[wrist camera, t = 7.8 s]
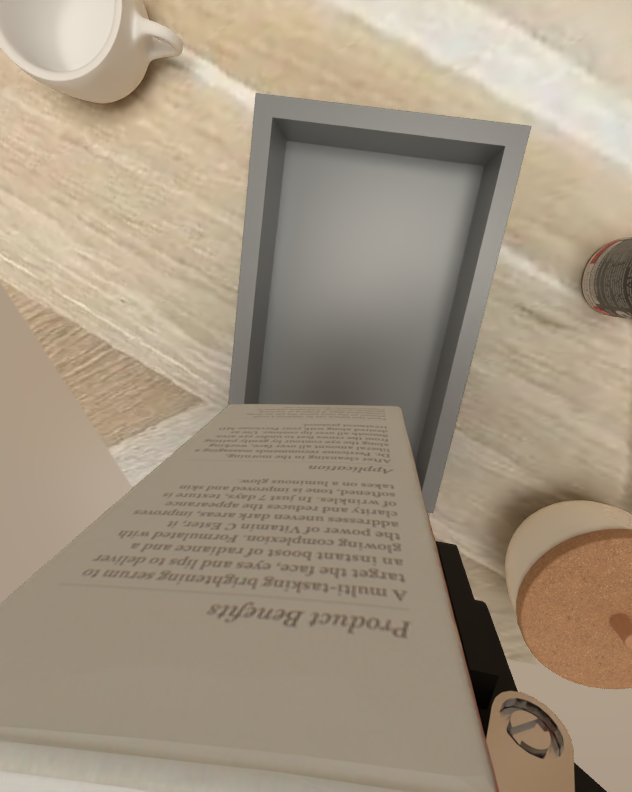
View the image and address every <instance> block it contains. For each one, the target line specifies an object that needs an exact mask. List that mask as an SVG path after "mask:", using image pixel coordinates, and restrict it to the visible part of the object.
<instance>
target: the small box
mask: <svg viewBox="0 0 632 792" xmlns="http://www.w3.org/2000/svg"><path fill="white" fill-rule="evenodd" d="M0 792H499V789H498V785H497V780H496V776H495V772H494V768H493V764H492V760H491V757H490V753H489V749H488V746H487V742H486V739H485V735H484V731H483V727H482V723H481V719H480V715H479V711H478V707H477V703H476V699H475V695H474V691H473V687H472V683H471V679H470V676H469V672H468V668H467V664H466V660H465V656H464V652H463V649H462V645H461V641H460V637H459V633H458V630H457V626H456V622H455V618H454V614H453V610H452V606H451V602H450V598H449V594H448V590H447V586H446V582H445V578H444V574H443V570H442V566H441V562H440V558H439V554H438V549H437V546H436V542H435V539H434V535H433V532H432V528H431V525H430V521H429V516H428V513H427V510H426V507H425V504H424V500H423V495H422V491H421V487H420V482H419V478H418V474H417V469H416V465H415V461H414V457H413V453H412V449H411V446H410V442H409V438H408V435H407V431H406V427H405V423H404V419H403V413H402V409H401V408H400V407H398V406H364V405H294V404H231V405H228V406H227V407H226V408H225V409H224V410H223V411H222V412H221V413H219V414H218V415H217V416H216V417H215V418H214V419H212V420H211V421H210V422H209V423H208V424H207V425H206V426H204V427H203V428H202V429H201V430H200V431H199V432H198V433H196V434H195V435H194V436H193V437H192V438H190V439H189V440H188V441H187V442H186V443H185V444H183V445H182V446H181V447H180V448H179V449H178V450H176V451H175V452H174V453H173V454H172V455H171V456H170V457H169V458H167V459H166V460H165V461H164V462H163V463H161V464H160V465H159V466H158V467H157V468H155V469H154V470H153V471H152V472H151V473H150V474H149V475H147V476H146V477H145V478H144V479H143V480H141V481H140V482H139V483H138V484H137V485H136V486H135V487H134V488H132V489H131V490H130V491H129V492H128V493H127V494H126V495H125V496H123V497H122V498H121V499H120V500H119V501H118V502H116V503H115V504H114V505H113V506H112V507H111V508H109V509H108V510H107V511H105V512H104V513H103V514H102V515H101V516H100V517H99V518H98V519H97V520H96V521H95V522H93V523H92V524H91V525H90V526H88V527H87V528H86V529H85V530H84V531H83V532H82V533H81V534H80V535H78V536H77V537H76V538H75V539H74V540H73V541H72V542H71V543H69V544H68V545H67V546H66V547H65V548H64V549H62V550H61V551H60V552H59V553H58V554H57V555H56V556H54V557H53V558H52V559H51V560H50V561H49V562H47V563H46V564H45V565H44V566H43V567H41V568H40V569H39V570H38V571H37V572H35V573H34V574H33V575H32V576H31V577H30V578H29V579H28V580H27V581H26V582H25V583H23V584H22V585H21V586H20V587H19V588H17V590H15V591H14V592H13V593H12V594H11V595H10V596H8V597H7V598H6V599H5V600H4V601H3V602H2V603H1V604H0Z"/></svg>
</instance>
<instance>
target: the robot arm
mask: <svg viewBox="0 0 632 792" xmlns="http://www.w3.org/2000/svg"><path fill="white" fill-rule="evenodd" d="M435 542H436V546H437V549H438V554H439V558H440V562H441V566H442V570H443V574H444V578H445V582H446V586H447V590H448V594H449V598H450V602H451V606H452V610H453V614H454V618H455V622H456V626H457V630H458V633H459V637H460V641H461V645H462V649H463V652H464V656H465V660H466V664H467V668H468V672H469V676H470V679H471V683H472V687H473V691H474V695H475V699H476V703H477V707H478V711H479V715H480V719H481V723H482V727H483V731H484V735H485V739H486V742H487V746H488V749H489V753H490V757H491V760H492V764H493V768H494V772H495V776H496V780H497V785H498V789H499V792H607V791H605V790H604V789H603V788H602V787H601V786H600V785H599V784H597V782H595V781H594V780H593V779H592V778H591V777H590V776H589V775H588V774H586V773H585V772H584V771H583V770H582V769H581V768H580V767H579V766H577V765H576V764H575V763H574V751H573V745H572V742H571V738H570V736H569V734H568V732H567V730H566V728H565V726H564V725H563V723H562V722H561V721H560V719H559V718H558V717H557V716H556V714H554V713H553V712H552V711H551V710H550V709H549V708H548V707H547V706H546V705H544V704H543V703H541V702H540V701H538V700H537V699H535V698H534V697H531V696H529V695H526V694H524V693H522V692H518V691H517V688H516V686H515V683H514V680H513V677H512V674H511V672H510V669H509V666H508V663H507V660H506V658H505V655H504V652H503V649H502V646H501V644H500V641H499V638H498V635H497V632H496V630H495V627H494V624H493V621H492V619H491V616H490V613H489V610H488V608H487V606H486V604H485V603H484V602H483V601H478V600H474V597H473V594H472V591H471V588H470V585H469V582H468V579H467V575H466V572H465V569H464V566H463V563H462V560H461V557H460V554H459V551H458V548H457V546H456V545H453V544H448V543H443V542H438V541H435Z"/></svg>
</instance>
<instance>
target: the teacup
mask: <svg viewBox="0 0 632 792" xmlns="http://www.w3.org/2000/svg"><path fill="white" fill-rule="evenodd" d="M156 37H158V38H160V39H163V40H165V41H166V42H168V43H165V42H162V41H160V40H159V39H157V38H156ZM0 48H1V49H2V50H3V51H4V53H5V54H6V55H7V56H8V57H9V58H10V59H11V60H12V61H13V62H14V63H15V64H16V65H17V66H18V67H20V68H21V69H22V70H23V71H24V72H26V73H27V74H28V75H30V76H31V77H33V78H34V79H36V80H37V81H39V82H41V83H43V84H45V85H47V86H49V87H51V88H53V89H55V90H57V91H59V92H62V93H64V94H66V95H69V96H71V97H74V98H78V99H82V100H86V101H90V102H94V103H110V102H114V101H117V100H120V99H122V98H124V97H126V96H127V95H129V94H130V93H131V92H132V91H134V90H135V89H136V87H137V86H138V85H139V84H140V82H141V81H142V79H143V77H144V75H145V73H146V71H147V68H148V65H149V63H150V62H151V61H152V60H154V59H158V58H164V57H172V56H178V55H180V54H181V53H182V48H183V43H182V40H181V39H180V37H179V36H178V35H177V34H175V33H174V32H173V31H172V30H170V29H168V28H167V27H165V26H163V25H161V24H159V23H156V22H154V21H151V20H149V18H148V14H147V10H146V7H145V5H144V3H143V1H142V0H0Z"/></svg>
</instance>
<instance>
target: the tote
mask: <svg viewBox="0 0 632 792" xmlns="http://www.w3.org/2000/svg"><path fill="white" fill-rule="evenodd" d="M530 130H531V126H527V125H519V124H511V123H502V122H494V121H485V120H477V119H469V118H460V117H452V116H444V115H435V114H427V113H419V112H410V111H402V110H393V109H385V108H377V107H368V106H360V105H352V104H343V103H335V102H327V101H318V100H310V99H301V98H293V97H285V96H276V95H268V94H260V93H256V96H255V107H254V118H253V130H252V141H251V152H250V164H249V175H248V186H247V198H246V209H245V220H244V232H243V243H242V254H241V266H240V277H239V289H238V300H237V311H236V323H235V334H234V345H233V357H232V368H231V379H230V391H229V402H228V405H231V404H294V405H364V406H398V407H400V408H401V409H402V413H403V419H404V423H405V427H406V431H407V435H408V438H409V442H410V446H411V449H412V453H413V457H414V461H415V465H416V469H417V474H418V478H419V482H420V487H421V491H422V495H423V500H424V504H425V507H426V510H427V512H428V513H433V512H434V508H435V504H436V500H437V496H438V492H439V488H440V484H441V480H442V476H443V472H444V468H445V464H446V460H447V456H448V452H449V449H450V445H451V441H452V437H453V433H454V429H455V425H456V421H457V417H458V413H459V409H460V405H461V401H462V397H463V393H464V390H465V386H466V382H467V378H468V374H469V370H470V366H471V362H472V358H473V354H474V350H475V346H476V342H477V338H478V334H479V330H480V327H481V323H482V319H483V315H484V311H485V307H486V303H487V299H488V295H489V291H490V287H491V283H492V279H493V275H494V271H495V267H496V264H497V260H498V256H499V252H500V248H501V244H502V240H503V236H504V232H505V228H506V224H507V220H508V216H509V212H510V208H511V204H512V201H513V197H514V193H515V189H516V185H517V181H518V177H519V173H520V169H521V165H522V161H523V157H524V153H525V149H526V145H527V141H528V138H529V134H530Z"/></svg>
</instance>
